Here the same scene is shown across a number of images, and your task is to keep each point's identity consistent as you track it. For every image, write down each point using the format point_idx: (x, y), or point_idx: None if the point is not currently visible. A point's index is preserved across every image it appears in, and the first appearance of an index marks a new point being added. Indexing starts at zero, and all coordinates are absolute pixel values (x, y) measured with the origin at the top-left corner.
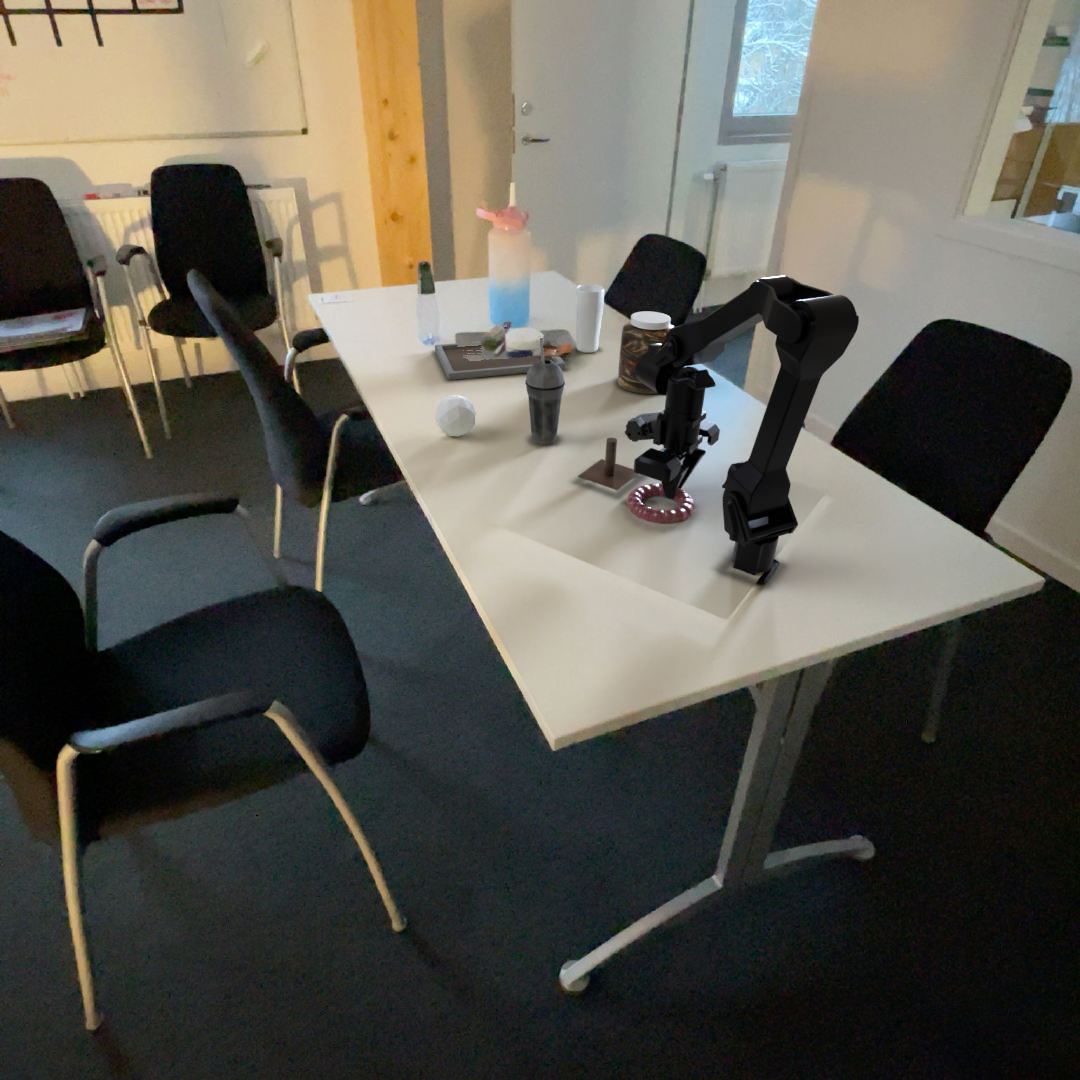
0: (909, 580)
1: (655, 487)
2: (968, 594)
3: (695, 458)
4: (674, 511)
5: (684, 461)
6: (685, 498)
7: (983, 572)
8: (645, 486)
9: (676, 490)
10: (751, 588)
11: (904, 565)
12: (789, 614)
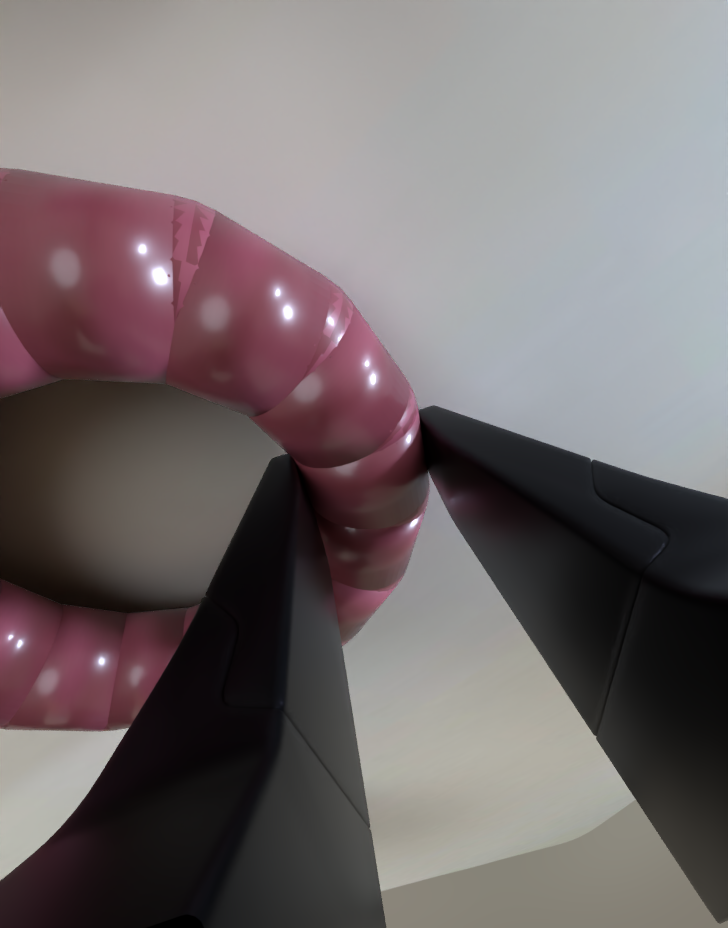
0: (470, 842)
1: (232, 393)
2: (492, 858)
3: (702, 879)
4: (102, 727)
5: (650, 729)
6: None
7: (568, 828)
8: (98, 329)
9: (358, 534)
10: None
11: (513, 819)
12: None
